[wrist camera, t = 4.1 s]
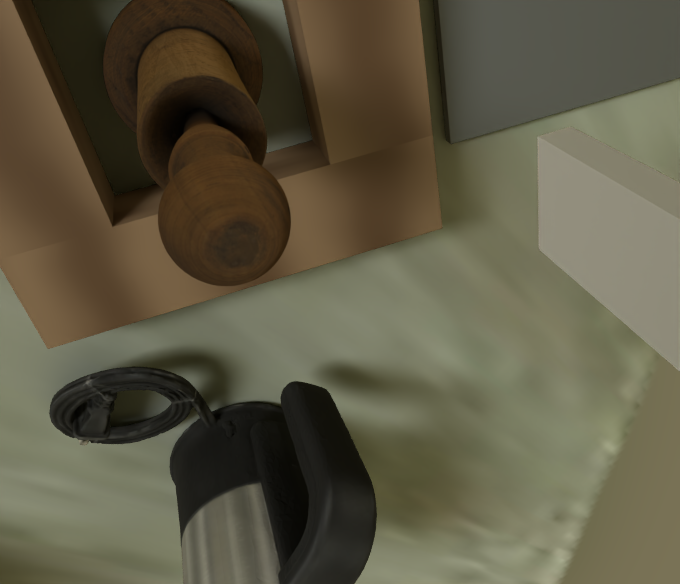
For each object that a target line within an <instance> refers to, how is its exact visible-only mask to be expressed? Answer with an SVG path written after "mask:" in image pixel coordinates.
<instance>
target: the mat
mask: <svg viewBox="0 0 680 584" xmlns="http://www.w3.org/2000/svg"><path fill="white" fill-rule="evenodd" d="M433 2H434V13H435V24H436V34H437V45H438V56H439V67H440V78H441V89H442V100H443V111H444V122H445V132H446V141H448V142H449V143H450V144H453V143H456V142H460V141H463V140H466V139H470V138H473V137H477V136H480V135H484V134H487V133H491V132H494V131H498V130H501V129H504V128H508V127H511V126H515V125H518V124H522V123H525V122H529V121H532V120H535V119H539V118H542V117H546V116H549V115H553V114H556V113H560V112H563V111H567V110H570V109H573V108H577V107H580V106H584V105H587V104H591V103H594V102H598V101H601V100H605V99H608V98H611V97H615V96H618V95H622V94H625V93H629V92H632V91H636V90H639V89H643V88H646V87H649V86H653V85H656V84H660V83H663V82H667V81H670V80H674V79H677V78H680V0H433Z"/></svg>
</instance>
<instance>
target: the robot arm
mask: <svg viewBox="0 0 680 584" xmlns="http://www.w3.org/2000/svg"><path fill="white" fill-rule="evenodd" d="M537 138H538V222H539V250H540V251H541V252H542V253H544V254H545V255H546V256H547V257H548V258H549V259H551V260H552V261H553V262H554V263H555V264H556V265H557V266H559V267H560V268H561V269H562V270H563V271H564V272H566V273H567V274H568V275H569V276H570V277H571V278H572V279H574V280H575V281H576V282H577V283H578V284H579V285H581V286H582V287H583V288H584V289H585V290H586V291H587V292H589V293H590V294H591V295H592V296H593V297H594V298H596V299H597V300H598V301H599V302H600V303H601V304H602V305H604V306H605V307H606V308H607V309H608V310H609V311H611V312H612V313H613V314H614V315H615V316H616V317H617V318H619V319H620V320H621V321H622V322H623V323H624V324H626V325H627V326H628V327H629V328H630V329H631V330H632V331H634V332H635V333H636V334H637V335H638V336H639V337H641V338H642V339H643V340H644V341H645V342H646V343H647V344H649V345H650V346H651V347H652V348H653V349H654V350H656V351H657V352H658V353H659V354H660V355H661V356H662V357H664V358H665V359H666V360H667V361H668V362H669V363H671V364H672V365H673V366H674V367H675V368H676V369H677V370H679V371H680V182H678V181H676V180H674V179H672V178H670V177H668V176H666V175H664V174H662V173H660V172H658V171H656V170H654V169H653V168H651V167H649V166H647V165H645V164H643V163H641V162H639V161H637V160H635V159H633V158H631V157H629V156H627V155H625V154H623V153H622V152H620V151H618V150H616V149H614V148H612V147H610V146H608V145H606V144H604V143H602V142H600V141H598V140H596V139H594V138H592V137H591V136H589V135H587V134H585V133H583V132H581V131H579V130H577V129H575V128H573V127H567V128H564V129H560V130H557V131H554V132H550V133H547V134H543V135H540V136H537Z"/></svg>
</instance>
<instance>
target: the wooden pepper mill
mask: <svg viewBox="0 0 680 584" xmlns="http://www.w3.org/2000/svg"><path fill="white" fill-rule="evenodd" d="M103 74H104V81H105V86H106V89H107V92H108V95H109V98H110V100H111V102H112V104H113V106H114V108H115V110H116V112H117V113H118V115H119V116H120V117H121V119H122V120H123V121H124V122H125V123H126V124H127V126H128V127H129V128H131V129H132V130H133V131H134V132H135V133H136V134H137V145H138V150H139V154H140V157H141V160H142V162H143V165H144V167H145V168H146V170H147V172H148V173H149V175H150V176H151V177H152V179H153V180H154V181H155V182H156V183H157V184H158V185H159V186H160V187H161V188H163V189H164V192H163V195H162V197H161V200H160V204H159V209H158V227H159V233H160V237H161V240H162V243H163V245H164V247H165V249H166V251H167V253H168V255H169V256H170V257H171V259H172V260H173V261H174V262H175V264H176V265H177V266H178V267H179V268H181V269H182V270H183V271H184V272H185V273H187V274H188V275H190V276H191V277H193V278H195V279H197V280H199V281H202V282H204V283H207V284H211V285H216V286H236V285H241V284H245V283H248V282H251V281H253V280H255V279H257V278H259V277H261V276H262V275H264V274H265V273H266V272H268V271H269V270H270V269H271V268H272V267H273V266H274V265H275V264H276V263H277V261H278V260H279V259H280V257H281V256H282V254H283V252H284V250H285V248H286V246H287V243H288V240H289V236H290V229H291V214H290V208H289V204H288V200H287V197H286V195H285V192H284V190H283V189H282V187H281V185H280V184H279V182H278V181H277V180H276V178H275V177H274V176H273V175H272V174H271V173H270V172H269V171H268V170H266V169H265V168H264V167H262V165H263V162H264V159H265V156H266V150H267V133H266V128H265V124H264V121H263V118H262V116H261V114H260V112H259V110H258V108H257V106H256V105H257V103H258V100H259V97H260V93H261V88H262V81H263V68H262V60H261V55H260V51H259V48H258V45H257V43H256V40H255V38H254V36H253V34H252V32H251V30H250V29H249V27H248V26H247V24H246V23H245V21H244V20H243V18H242V17H241V16H240V14H239V13H238V12H237V11H236V10H235V9H234V8H233V7H232V6H231V5H230V4H229V3H228V2H226V1H225V0H132V1H131V2H130V3H129V4H127V5H126V6H125V7H124V8H123V9H122V11H121V12H120V13H119V14H118V16H117V17H116V19H115V20H114V22H113V24H112V26H111V28H110V31H109V33H108V37H107V40H106V45H105V51H104V58H103Z"/></svg>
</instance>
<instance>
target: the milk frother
mask: <svg viewBox="0 0 680 584" xmlns="http://www.w3.org/2000/svg"><path fill="white" fill-rule="evenodd" d="M125 390H151V391H156V392H158V393H160V394H162V395H164V396H165V397H167V398H168V399H169V400H170V401H171V405H170V406H169V407H168V408H167V409H166V410H165V411H164V412H162V413H161V414H159V415H157V416H155V417H154V418H151V419H149V420H146V421H143V422H140V423H136V424H132V425H127V426H118V427H110V413H111V412H112V411H113V410H114V400H115V399H116V398H117V392H119V391H125ZM281 406H282V408H279V407H276V406H273V405H270V404H263V403H243V404H236V405H231V406H228V407H224V408H221V409H218V410H215V411H213V412H211V411H210V409H209V408H208V406H207V404H206V402H205V401H204V399H203V398H202V397H201V395H200V394H199V392H198V391H197V390H196V389H195V388H194V387H193V386H192V385H191V383H190V382H188V381H187V380H186V379H184V378H183V377H181V376H178V375H176V374H174V373H171V372H168V371H165V370H161V369H156V368H147V367H127V368H116V369H109V370H105V371H100V372H97V373H94V374H90V375H87V376H84V377H82V378H79V379H77V380H75V381H73V382H71V383H69V384H67V385H66V386H64V387H63V388H62V389H60V390H59V391H58V392H57V393H56V394H55V395H54V397H53V399H52V402H51V405H50V413H49V414H50V418H51V422H52V423H53V425H54V426H55V427H56V428H57V429H59V430H60V431H61V432H63V433H64V434H65V435H67V436H69V437H72V438H77V439H79V443H80V445H87V444H88V442H89V441H91V443H102V444H125V443H133V442H138V441H141V440H144V439H147V438H151V437H154V436H157V435H159V434H160V433H164V432H166V431H168V430H170V429H172V428H173V427H175V426H177V425H178V424H179V423H180V422H182V421H183V420H184V419H185V418H186V417H187V416H188V414H189V413H190V411H191V409H192V408H193V407H195V409H196V411H197V412H198V414H199V416H200V419H198V420H197V421H196V422H194V423H193V424H192V425H191V426H190V427H189V428H188V429H186V430H185V431H184V433H183V434H182V436H181V437H180V438H179V439H178V441H177V442H176V444H175V446H174V448H173V451H172V454H171V457H170V474H171V477H172V480H173V482H174V483H175V485H176V494H177V502H178V512H179V522H180V533H181V548H182V566H183V583H184V584H354V583H355V582H356V580H357V579H358V578H359V576H360V574H361V573H362V571H363V569H364V567H365V565H366V563H367V560H368V558H369V555H370V552H371V549H372V545H373V541H374V537H375V530H376V518H377V511H376V500H375V493H374V489H373V485H372V482H371V479H370V477H369V474H368V472H367V470H366V468H365V466H364V464H363V462H362V460H361V458H360V456H359V453H358V451H357V449H356V447H355V444H354V442H353V440H352V439H351V436H350V434H349V431H348V430H347V428H346V426H345V424H344V421H343V419H342V418H341V415H340V413H339V411H338V409H337V407H336V405H335V403H334V401H333V399H332V397H331V395H330V393H329V392H328V391H327V390H326V389H325V388H322V387H319V386H316V385H313V384H309V383H304V382H298V381H295V382H291V383H289V384H288V385H287V386H286V387H285V388H284V389H283V391H282V394H281Z"/></svg>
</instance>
